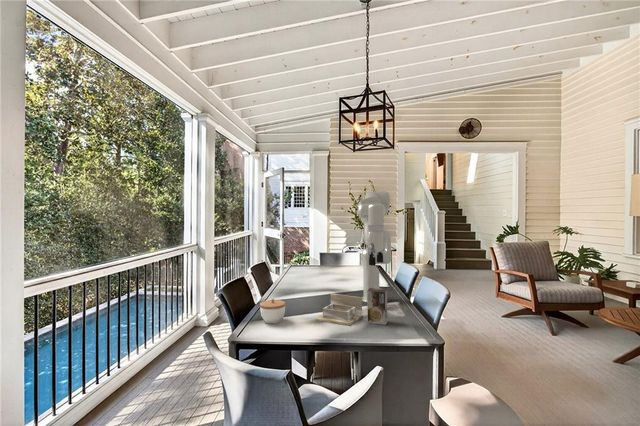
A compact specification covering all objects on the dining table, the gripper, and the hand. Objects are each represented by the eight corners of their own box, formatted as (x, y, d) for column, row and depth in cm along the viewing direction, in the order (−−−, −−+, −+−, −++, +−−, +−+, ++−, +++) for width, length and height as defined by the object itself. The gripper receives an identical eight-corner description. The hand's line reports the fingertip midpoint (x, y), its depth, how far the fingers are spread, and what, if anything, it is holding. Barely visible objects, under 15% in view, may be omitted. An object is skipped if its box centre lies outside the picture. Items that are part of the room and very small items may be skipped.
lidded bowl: (257, 319, 184) (257, 297, 184) (281, 316, 188) (281, 295, 188) (263, 326, 172) (263, 303, 172) (288, 323, 177) (288, 301, 176)
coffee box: (387, 321, 179) (387, 288, 179) (385, 325, 173) (385, 291, 173) (369, 319, 182) (369, 287, 182) (367, 323, 176) (366, 290, 176)
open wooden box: (331, 311, 195) (331, 293, 195) (362, 316, 186) (362, 297, 186) (316, 320, 181) (316, 300, 181) (348, 325, 172) (348, 305, 172)
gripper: (375, 228, 186) (375, 261, 187) (361, 229, 171) (361, 265, 172) (389, 228, 182) (389, 262, 183) (376, 230, 168) (376, 267, 168)
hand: (376, 263), depth 177 cm, fingers open, 9 cm apart
